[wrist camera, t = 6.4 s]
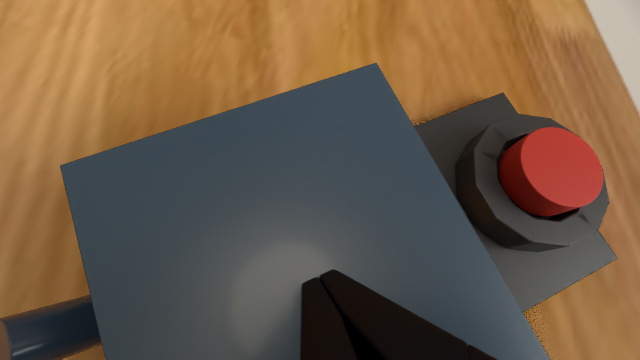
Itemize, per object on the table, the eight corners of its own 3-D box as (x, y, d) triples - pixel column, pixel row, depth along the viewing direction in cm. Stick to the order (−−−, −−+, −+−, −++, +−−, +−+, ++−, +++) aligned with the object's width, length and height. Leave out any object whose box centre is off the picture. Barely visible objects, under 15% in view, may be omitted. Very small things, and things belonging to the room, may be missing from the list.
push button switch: (607, 257, 19) (664, 249, 16) (502, 316, 17) (545, 319, 15) (499, 98, 22) (531, 68, 19) (401, 136, 20) (420, 110, 18)
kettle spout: (62, 320, 14) (-45, 330, 10) (178, 272, 15) (132, 259, 11) (71, 364, 14) (-37, 396, 9) (190, 310, 15) (148, 315, 10)
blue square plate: (72, 172, 11) (59, 164, 11) (372, 73, 14) (376, 61, 13) (181, 617, 8) (171, 646, 7) (549, 381, 11) (566, 386, 10)
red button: (589, 198, 17) (621, 187, 16) (528, 229, 16) (555, 221, 15) (543, 132, 18) (568, 115, 17) (483, 158, 17) (504, 143, 16)
